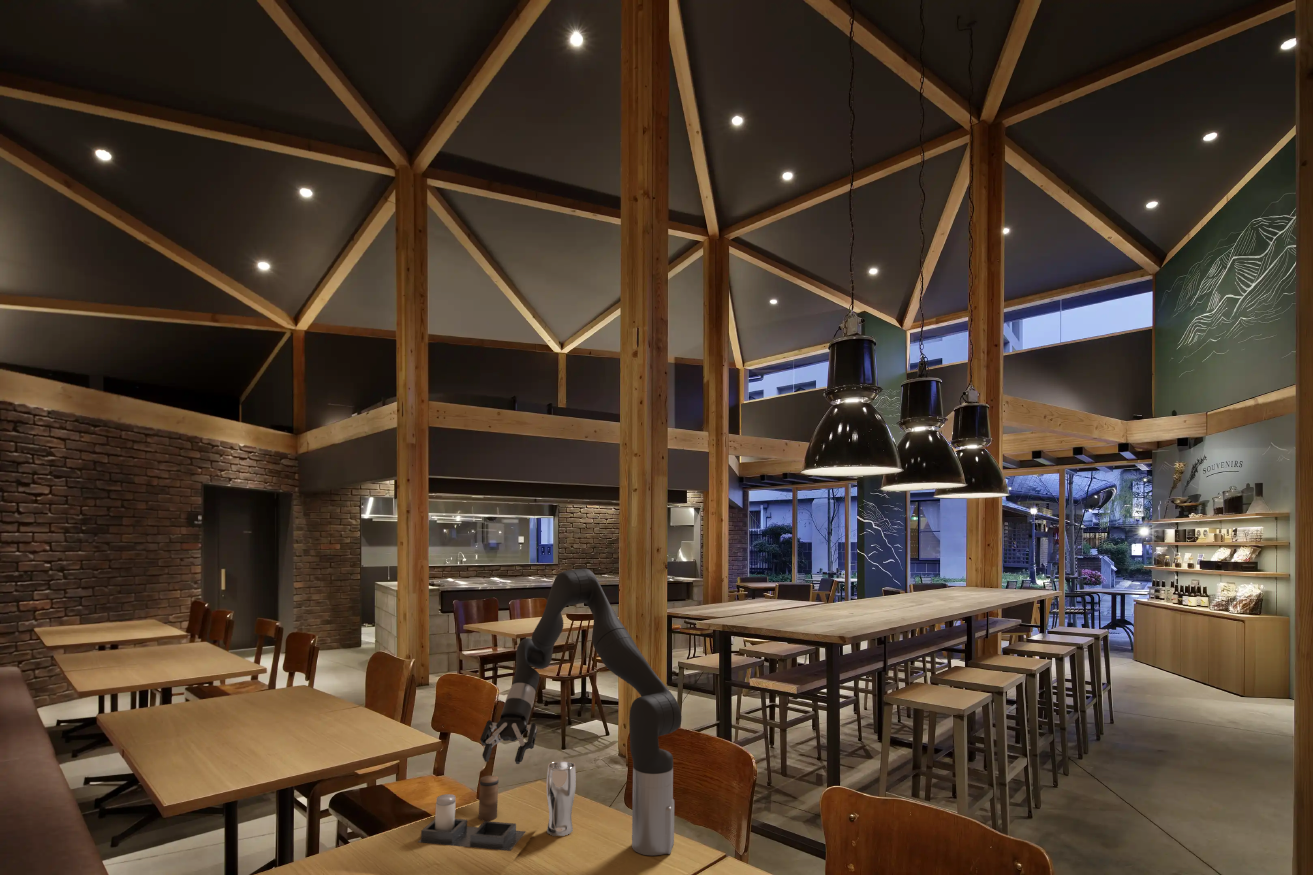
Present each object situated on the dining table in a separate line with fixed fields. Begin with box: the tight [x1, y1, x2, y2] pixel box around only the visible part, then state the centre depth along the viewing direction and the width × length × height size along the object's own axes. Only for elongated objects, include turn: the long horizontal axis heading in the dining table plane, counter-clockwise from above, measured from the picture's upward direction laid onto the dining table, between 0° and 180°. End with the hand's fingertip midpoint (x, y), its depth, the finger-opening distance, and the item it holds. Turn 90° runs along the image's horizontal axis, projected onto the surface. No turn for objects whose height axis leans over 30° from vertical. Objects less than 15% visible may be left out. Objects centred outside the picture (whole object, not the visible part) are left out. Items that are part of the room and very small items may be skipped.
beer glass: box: [546, 760, 577, 837], centre depth 168 cm, size 7×7×15 cm
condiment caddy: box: [417, 818, 527, 852], centre depth 161 cm, size 22×10×3 cm, turn 81°
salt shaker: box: [434, 793, 457, 831], centre depth 163 cm, size 4×4×8 cm
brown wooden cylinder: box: [478, 775, 500, 822], centre depth 173 cm, size 4×4×10 cm
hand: (501, 761), depth 181 cm, fingers open, 8 cm apart
